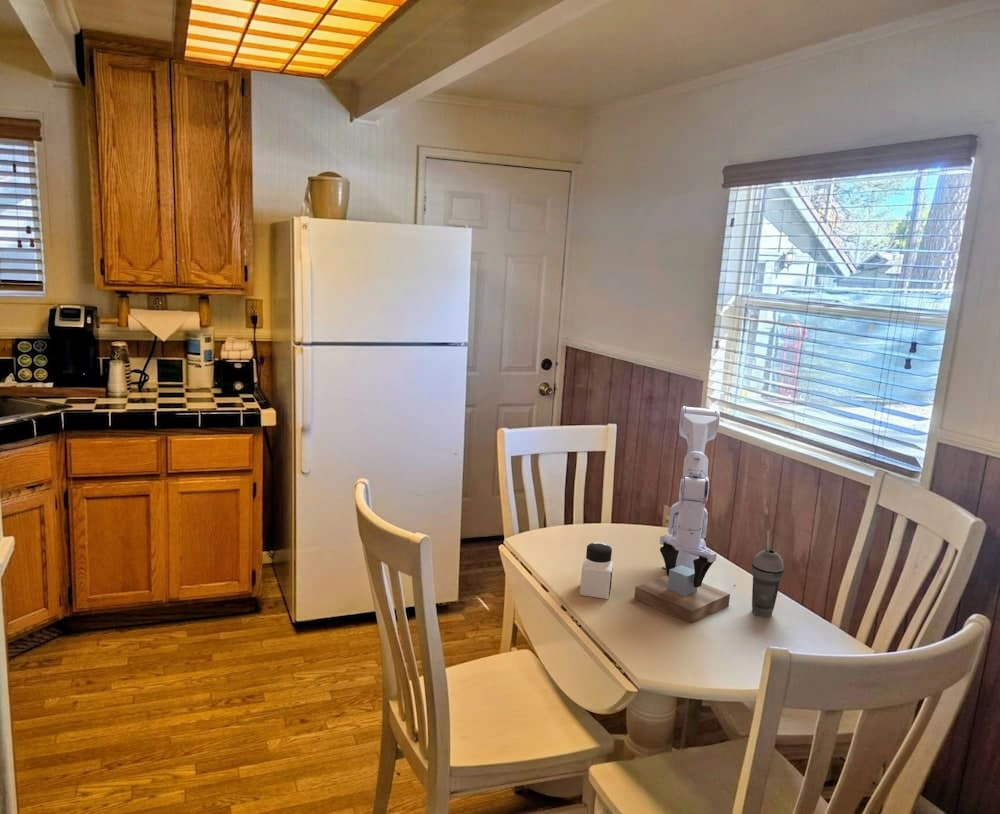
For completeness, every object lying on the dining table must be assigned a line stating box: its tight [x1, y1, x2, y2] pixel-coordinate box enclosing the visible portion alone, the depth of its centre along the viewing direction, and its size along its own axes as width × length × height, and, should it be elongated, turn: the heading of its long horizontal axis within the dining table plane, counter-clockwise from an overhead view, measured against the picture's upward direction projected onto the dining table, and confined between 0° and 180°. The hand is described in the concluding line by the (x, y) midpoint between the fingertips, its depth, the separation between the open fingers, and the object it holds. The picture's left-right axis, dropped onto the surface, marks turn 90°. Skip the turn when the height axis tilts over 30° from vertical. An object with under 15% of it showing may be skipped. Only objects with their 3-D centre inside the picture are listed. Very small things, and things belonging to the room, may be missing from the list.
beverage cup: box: [751, 530, 785, 619], centre depth 178 cm, size 7×7×20 cm
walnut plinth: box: [634, 574, 731, 624], centre depth 183 cm, size 16×16×3 cm
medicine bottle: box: [579, 541, 614, 600], centre depth 185 cm, size 7×7×12 cm
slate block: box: [667, 565, 697, 596], centre depth 182 cm, size 5×5×5 cm
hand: (683, 580), depth 182 cm, fingers open, 7 cm apart
